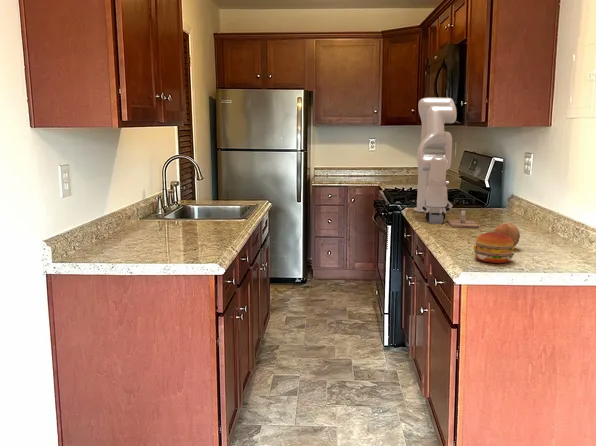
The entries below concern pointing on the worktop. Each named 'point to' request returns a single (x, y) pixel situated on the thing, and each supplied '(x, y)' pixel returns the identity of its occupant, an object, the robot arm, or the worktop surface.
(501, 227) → the onion
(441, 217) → the link
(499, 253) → the burger
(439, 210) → the supplement box
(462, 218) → the keeper
